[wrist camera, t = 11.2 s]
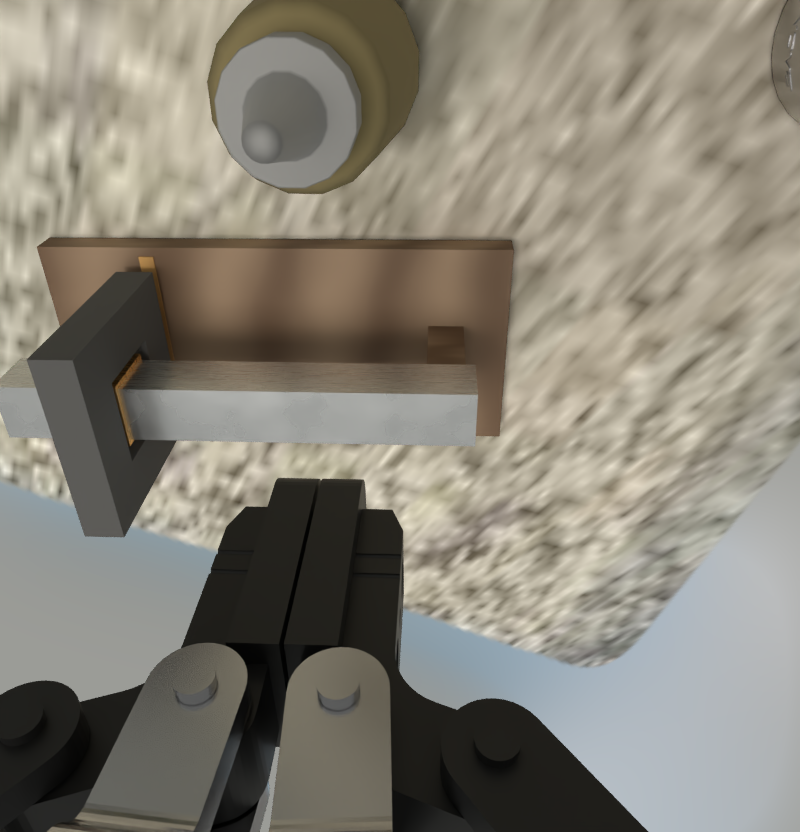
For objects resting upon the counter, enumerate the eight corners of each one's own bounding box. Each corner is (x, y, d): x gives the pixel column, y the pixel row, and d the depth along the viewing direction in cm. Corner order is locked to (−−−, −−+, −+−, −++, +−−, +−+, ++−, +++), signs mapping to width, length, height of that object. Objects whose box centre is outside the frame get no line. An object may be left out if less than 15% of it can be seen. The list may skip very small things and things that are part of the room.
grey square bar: (475, 358, 37) (478, 393, 34) (472, 415, 39) (475, 453, 36) (21, 351, 38) (-13, 385, 35) (40, 407, 40) (8, 444, 37)
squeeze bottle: (359, -80, 32) (285, -108, 17) (453, 86, 35) (462, 186, 20) (222, 32, 35) (53, 96, 20) (322, 176, 38) (244, 325, 23)
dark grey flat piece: (152, 272, 39) (72, 360, 30) (184, 426, 44) (124, 537, 36) (116, 271, 39) (26, 359, 31) (152, 425, 44) (84, 536, 36)
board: (511, 240, 39) (521, 283, 34) (497, 423, 46) (504, 480, 41) (49, 237, 41) (-7, 278, 36) (99, 416, 47) (58, 471, 42)
